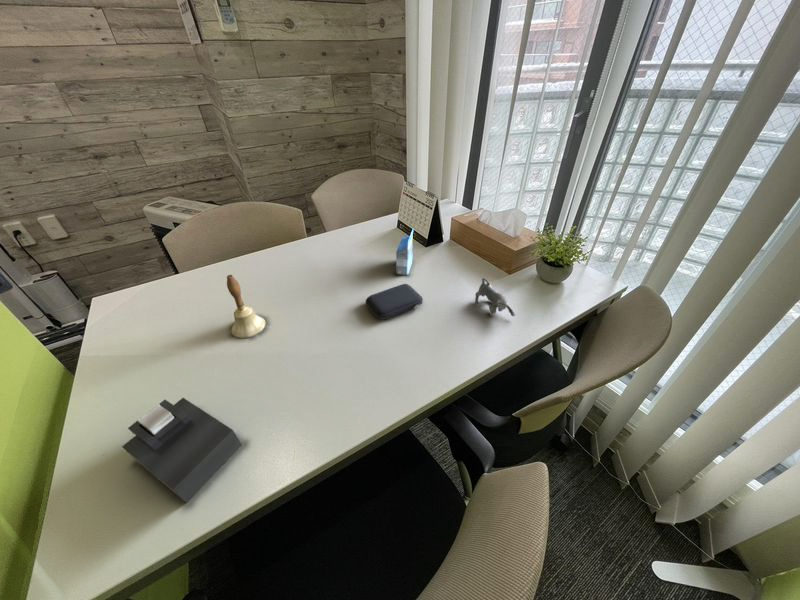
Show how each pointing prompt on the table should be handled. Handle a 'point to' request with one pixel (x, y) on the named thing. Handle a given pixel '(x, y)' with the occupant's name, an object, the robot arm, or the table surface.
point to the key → (156, 419)
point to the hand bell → (243, 313)
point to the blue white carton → (404, 255)
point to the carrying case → (394, 301)
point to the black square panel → (183, 448)
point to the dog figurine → (493, 298)
